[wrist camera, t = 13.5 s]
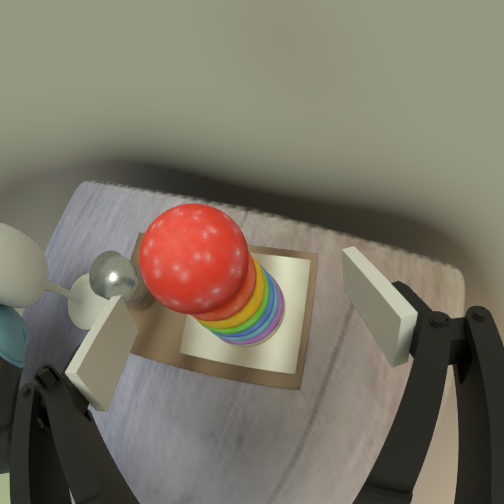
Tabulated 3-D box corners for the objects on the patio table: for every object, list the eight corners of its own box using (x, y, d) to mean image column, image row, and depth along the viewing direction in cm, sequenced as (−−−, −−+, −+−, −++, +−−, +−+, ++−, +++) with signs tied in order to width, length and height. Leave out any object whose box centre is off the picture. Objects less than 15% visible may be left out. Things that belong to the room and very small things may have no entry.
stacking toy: (219, 264, 30) (142, 146, 12) (292, 280, 28) (305, 162, 11) (199, 335, 27) (75, 298, 10) (274, 355, 26) (260, 363, 8)
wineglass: (90, 342, 32) (-32, 312, 13) (61, 307, 35) (-44, 263, 15) (119, 293, 34) (3, 230, 15) (87, 263, 37) (-12, 196, 17)
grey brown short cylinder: (121, 306, 32) (84, 291, 25) (130, 270, 34) (96, 248, 26) (153, 314, 31) (118, 301, 24) (162, 276, 33) (132, 253, 26)
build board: (116, 346, 32) (96, 343, 28) (143, 236, 37) (129, 222, 33) (298, 388, 28) (301, 394, 24) (316, 257, 33) (321, 243, 29)
